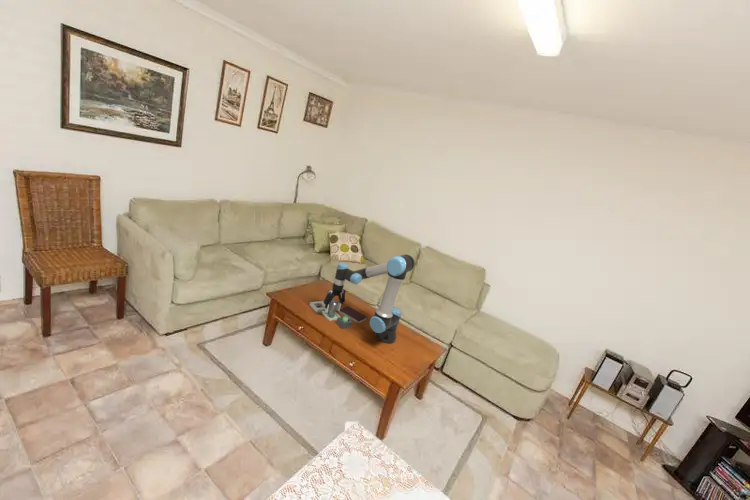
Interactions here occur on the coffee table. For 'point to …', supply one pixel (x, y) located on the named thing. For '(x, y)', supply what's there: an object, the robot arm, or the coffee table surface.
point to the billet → (332, 309)
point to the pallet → (318, 303)
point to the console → (344, 323)
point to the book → (353, 314)
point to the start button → (345, 319)
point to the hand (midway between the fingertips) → (332, 311)
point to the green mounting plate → (329, 317)
